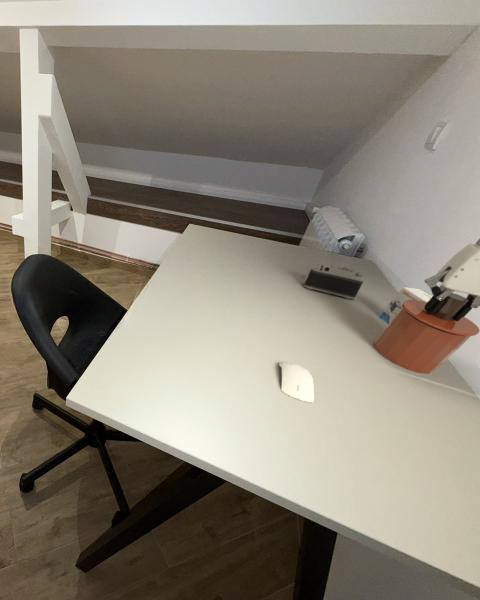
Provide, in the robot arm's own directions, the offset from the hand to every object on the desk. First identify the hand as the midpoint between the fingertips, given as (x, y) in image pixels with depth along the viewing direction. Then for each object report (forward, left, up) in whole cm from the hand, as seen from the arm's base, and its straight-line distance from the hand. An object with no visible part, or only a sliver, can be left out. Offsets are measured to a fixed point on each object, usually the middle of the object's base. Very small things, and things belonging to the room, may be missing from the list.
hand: (440, 314), depth 75 cm
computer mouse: (+28, +26, -15) cm, 41 cm away
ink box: (-4, -18, -15) cm, 23 cm away
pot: (0, 0, -14) cm, 14 cm away
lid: (0, 0, -1) cm, 1 cm away
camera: (+13, -32, -15) cm, 37 cm away
